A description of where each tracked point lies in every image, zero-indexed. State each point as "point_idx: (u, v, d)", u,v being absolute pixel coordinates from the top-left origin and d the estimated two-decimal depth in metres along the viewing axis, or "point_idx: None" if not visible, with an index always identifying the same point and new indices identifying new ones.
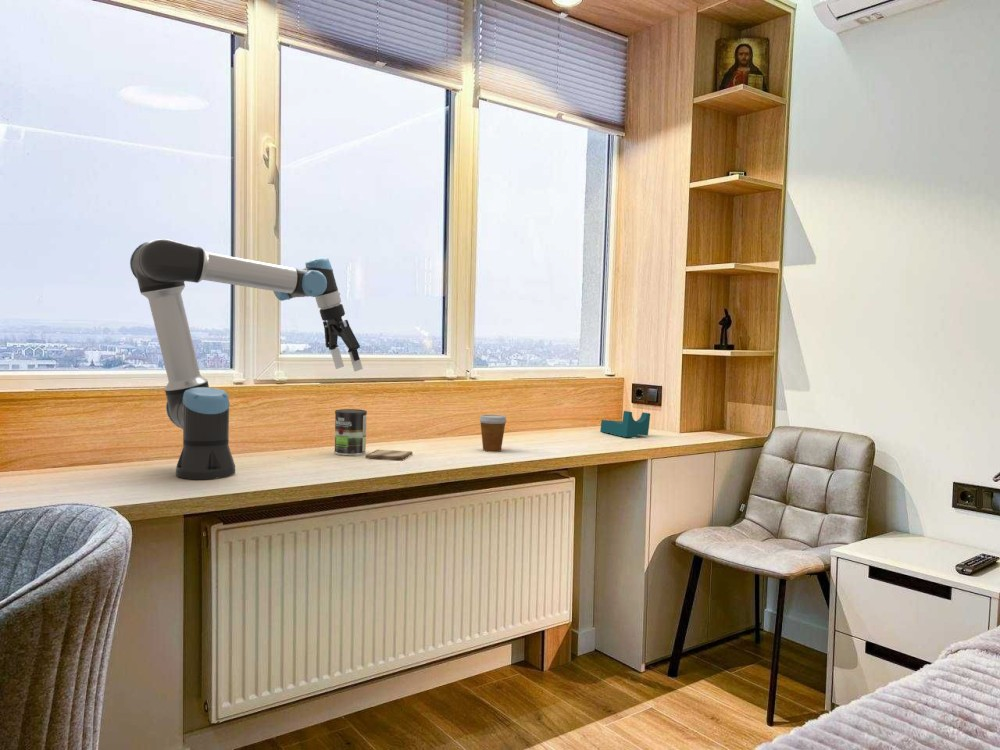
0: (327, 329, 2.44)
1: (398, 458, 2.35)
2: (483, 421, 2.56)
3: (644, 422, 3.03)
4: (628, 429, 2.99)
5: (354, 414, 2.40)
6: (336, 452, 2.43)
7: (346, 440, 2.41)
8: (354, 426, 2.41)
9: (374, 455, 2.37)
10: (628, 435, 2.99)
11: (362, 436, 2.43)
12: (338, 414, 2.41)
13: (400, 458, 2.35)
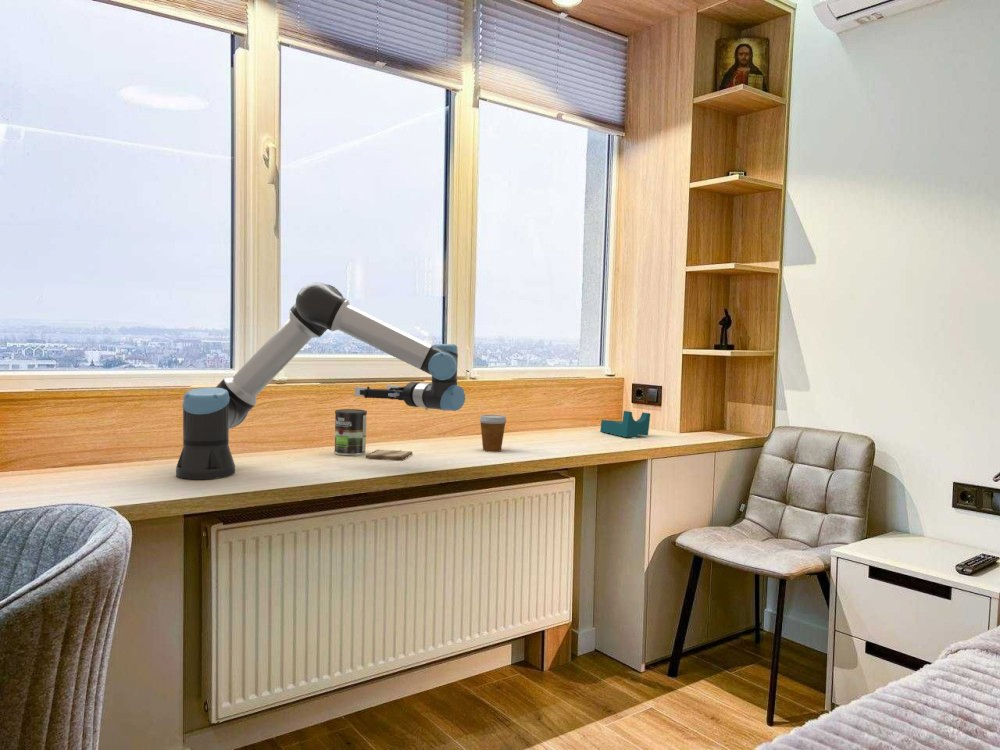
0: None
1: (398, 458, 2.35)
2: (483, 421, 2.56)
3: (644, 422, 3.03)
4: (628, 429, 2.99)
5: (354, 414, 2.40)
6: (336, 452, 2.43)
7: (346, 440, 2.41)
8: (354, 426, 2.41)
9: (374, 455, 2.37)
10: (628, 435, 2.99)
11: (362, 436, 2.43)
12: (338, 414, 2.41)
13: (400, 458, 2.35)
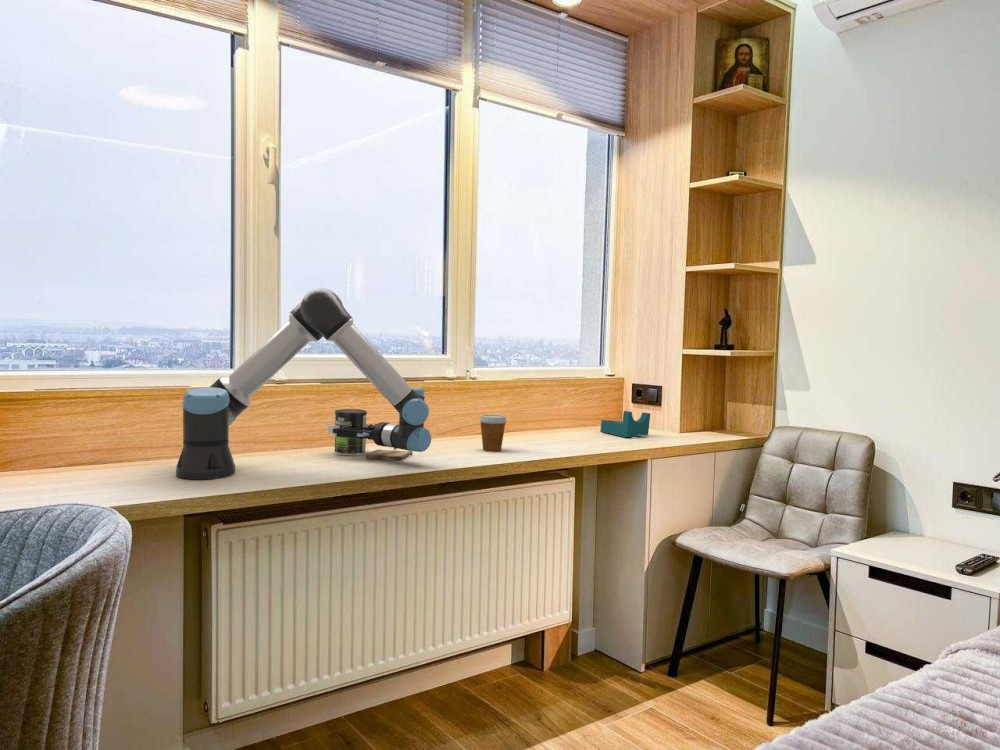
0: None
1: (398, 458, 2.35)
2: (483, 421, 2.56)
3: (644, 422, 3.03)
4: (628, 429, 2.99)
5: (354, 414, 2.40)
6: (336, 452, 2.43)
7: (346, 440, 2.41)
8: (354, 426, 2.41)
9: (374, 455, 2.37)
10: (628, 435, 2.99)
11: None
12: (338, 414, 2.41)
13: (400, 458, 2.35)
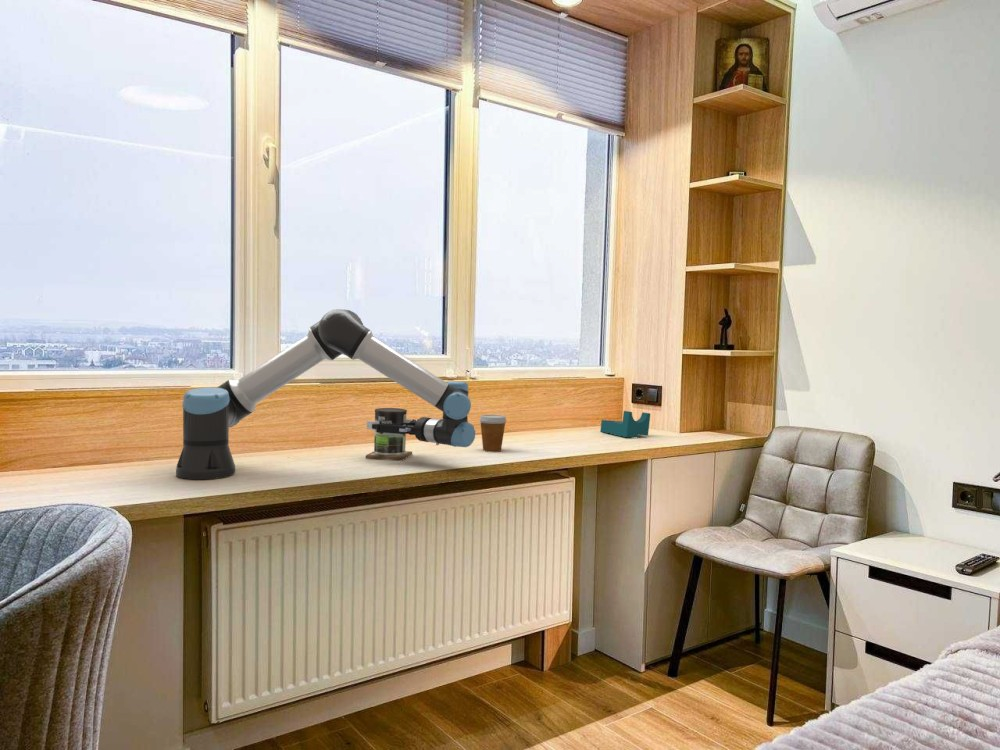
0: None
1: (398, 458, 2.35)
2: (483, 421, 2.56)
3: (644, 422, 3.03)
4: (628, 429, 2.99)
5: (395, 413, 2.36)
6: (376, 452, 2.39)
7: (386, 439, 2.37)
8: None
9: (374, 455, 2.37)
10: (628, 435, 2.99)
11: (402, 435, 2.39)
12: (378, 413, 2.37)
13: (400, 458, 2.35)
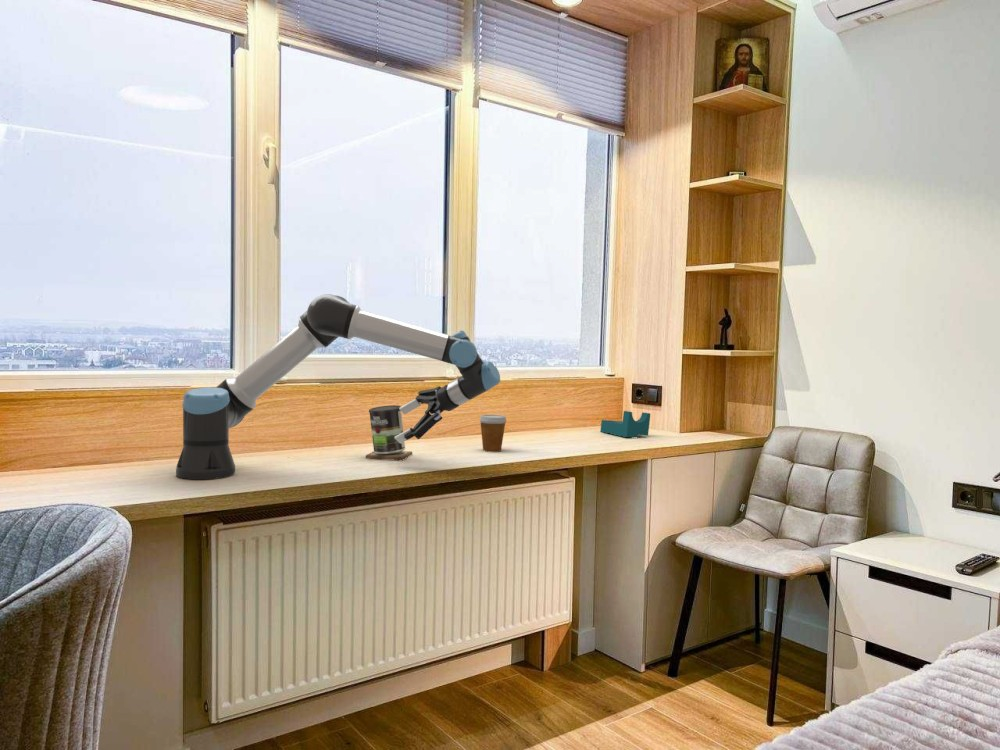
0: (433, 392, 2.33)
1: (398, 458, 2.35)
2: (483, 421, 2.56)
3: (644, 422, 3.03)
4: (628, 429, 2.99)
5: (389, 411, 2.36)
6: (376, 451, 2.38)
7: (384, 438, 2.36)
8: (390, 423, 2.36)
9: (374, 455, 2.37)
10: (628, 435, 2.99)
11: (400, 432, 2.39)
12: (373, 413, 2.37)
13: (400, 458, 2.35)
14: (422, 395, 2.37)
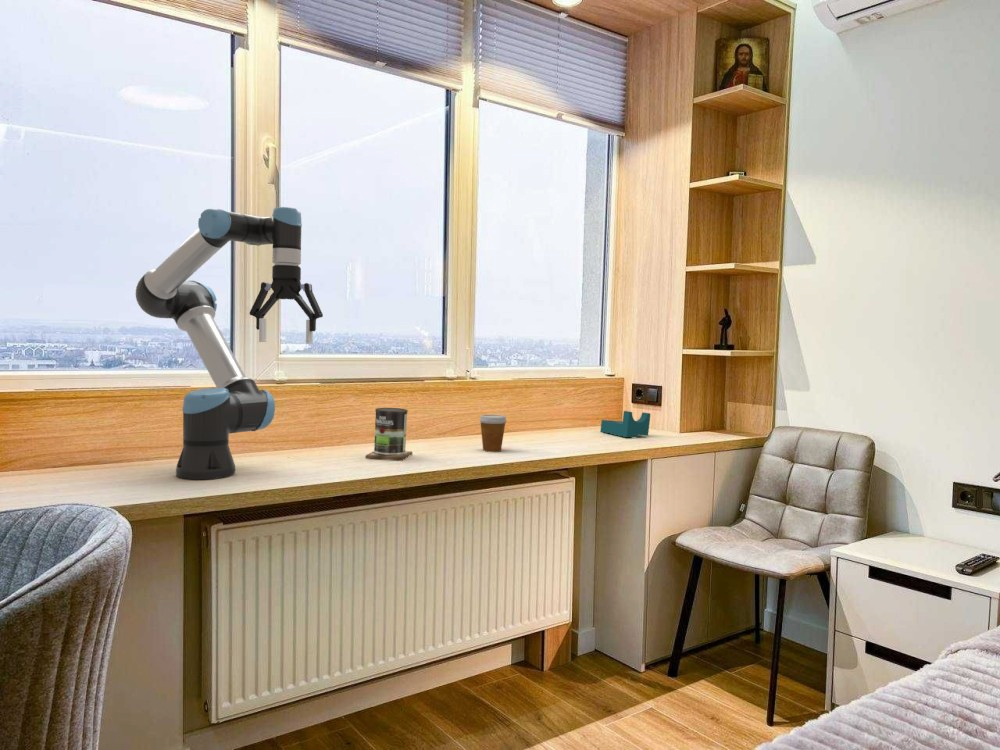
0: (264, 292, 2.05)
1: (398, 458, 2.35)
2: (483, 421, 2.56)
3: (644, 422, 3.03)
4: (628, 429, 2.99)
5: (396, 413, 2.36)
6: (376, 451, 2.38)
7: (387, 439, 2.37)
8: (396, 425, 2.37)
9: (374, 455, 2.37)
10: (628, 435, 2.99)
11: (403, 435, 2.39)
12: (379, 413, 2.37)
13: (400, 458, 2.35)
14: (255, 312, 2.07)
